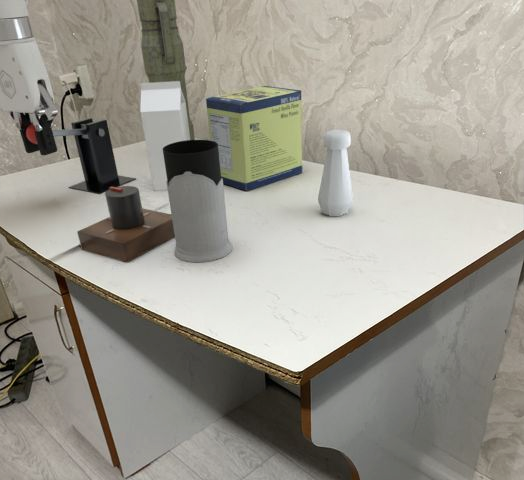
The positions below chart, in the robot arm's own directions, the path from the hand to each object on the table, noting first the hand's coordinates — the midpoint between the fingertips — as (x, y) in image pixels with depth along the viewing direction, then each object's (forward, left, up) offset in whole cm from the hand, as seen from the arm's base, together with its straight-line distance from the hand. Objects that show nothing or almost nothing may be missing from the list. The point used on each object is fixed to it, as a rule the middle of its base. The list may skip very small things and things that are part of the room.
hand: (41, 151), depth 95 cm
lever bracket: (+12, 0, -10) cm, 15 cm away
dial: (-5, -25, -7) cm, 27 cm away
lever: (+5, 0, 0) cm, 5 cm away
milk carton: (+18, -14, -10) cm, 25 cm away
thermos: (+37, +2, -10) cm, 38 cm away
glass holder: (0, -36, -10) cm, 37 cm away
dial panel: (-5, -25, -10) cm, 28 cm away
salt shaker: (+20, -48, -10) cm, 53 cm away
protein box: (+31, -25, -10) cm, 41 cm away
